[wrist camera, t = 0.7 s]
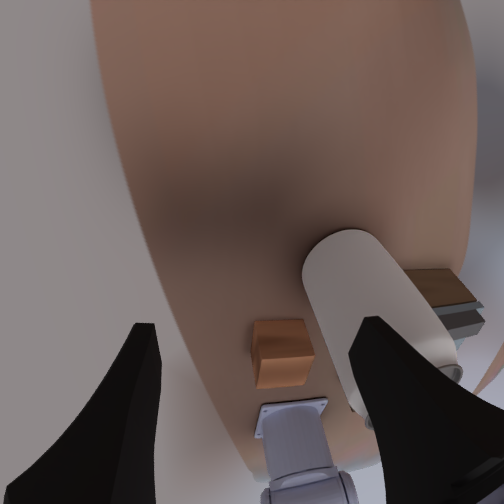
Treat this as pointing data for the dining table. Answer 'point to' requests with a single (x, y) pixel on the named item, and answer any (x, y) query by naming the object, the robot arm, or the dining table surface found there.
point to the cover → (461, 320)
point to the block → (281, 353)
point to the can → (370, 305)
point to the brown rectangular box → (439, 288)
